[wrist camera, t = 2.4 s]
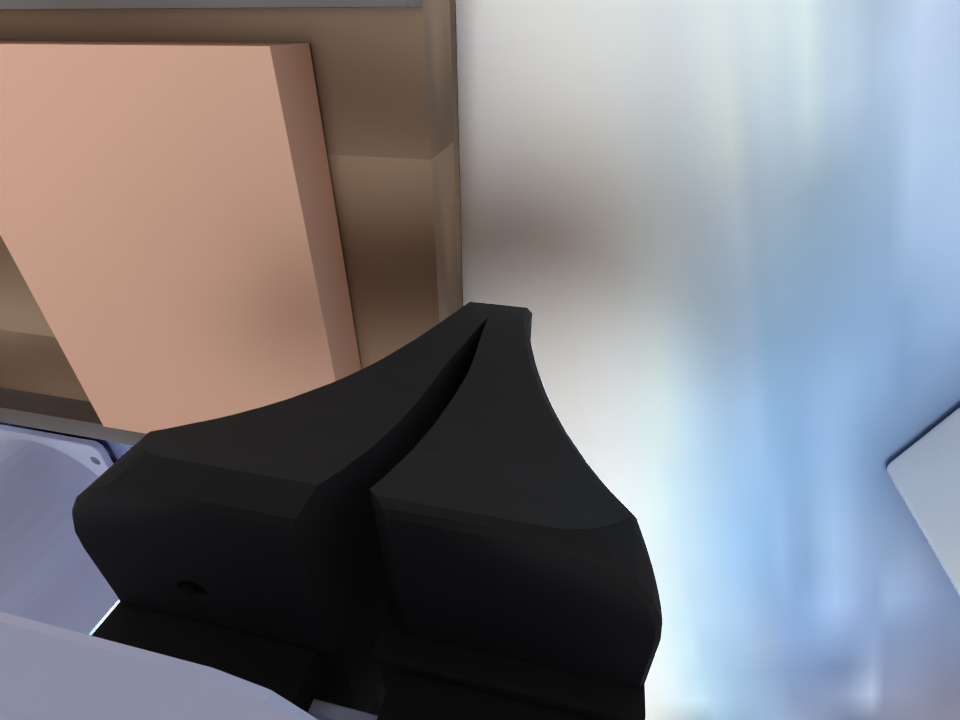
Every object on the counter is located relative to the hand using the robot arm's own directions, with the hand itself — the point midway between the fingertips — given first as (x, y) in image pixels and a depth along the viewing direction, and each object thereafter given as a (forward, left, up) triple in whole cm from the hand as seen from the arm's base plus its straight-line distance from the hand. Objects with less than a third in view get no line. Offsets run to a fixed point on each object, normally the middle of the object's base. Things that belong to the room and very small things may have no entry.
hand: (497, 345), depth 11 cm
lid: (0, +9, -2) cm, 9 cm away
